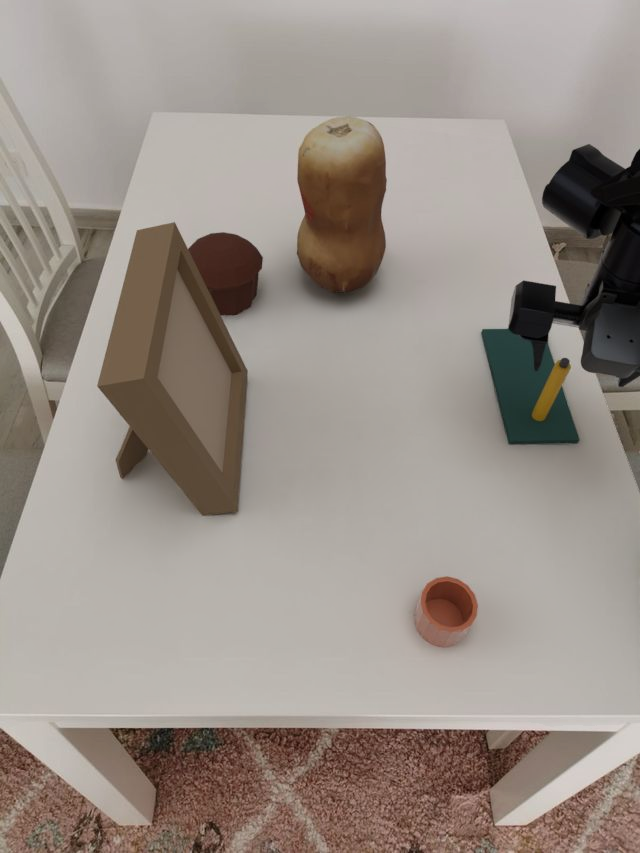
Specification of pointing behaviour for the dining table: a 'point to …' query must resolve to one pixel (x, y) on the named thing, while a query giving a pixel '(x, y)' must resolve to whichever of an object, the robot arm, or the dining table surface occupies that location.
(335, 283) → the butternut squash
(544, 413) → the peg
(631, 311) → the robot arm
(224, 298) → the muffin
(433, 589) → the pencil cup
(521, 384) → the mat
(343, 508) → the dining table surface
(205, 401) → the photo frame
